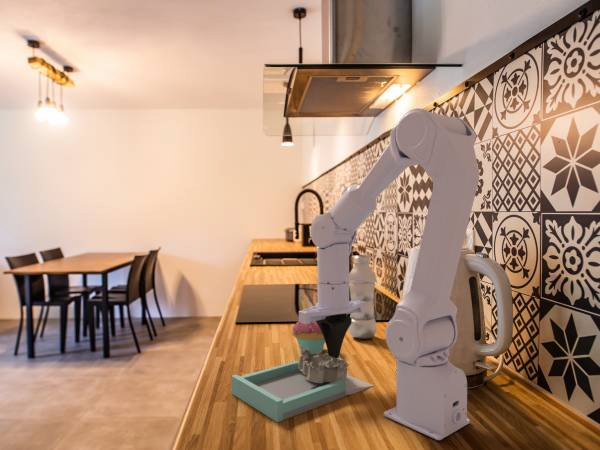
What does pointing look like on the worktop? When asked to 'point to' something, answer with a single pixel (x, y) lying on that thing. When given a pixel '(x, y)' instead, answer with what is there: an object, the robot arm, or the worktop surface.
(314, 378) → the egg carton
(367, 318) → the plastic bottle
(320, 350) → the cupcake
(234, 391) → the dock
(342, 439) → the worktop surface
